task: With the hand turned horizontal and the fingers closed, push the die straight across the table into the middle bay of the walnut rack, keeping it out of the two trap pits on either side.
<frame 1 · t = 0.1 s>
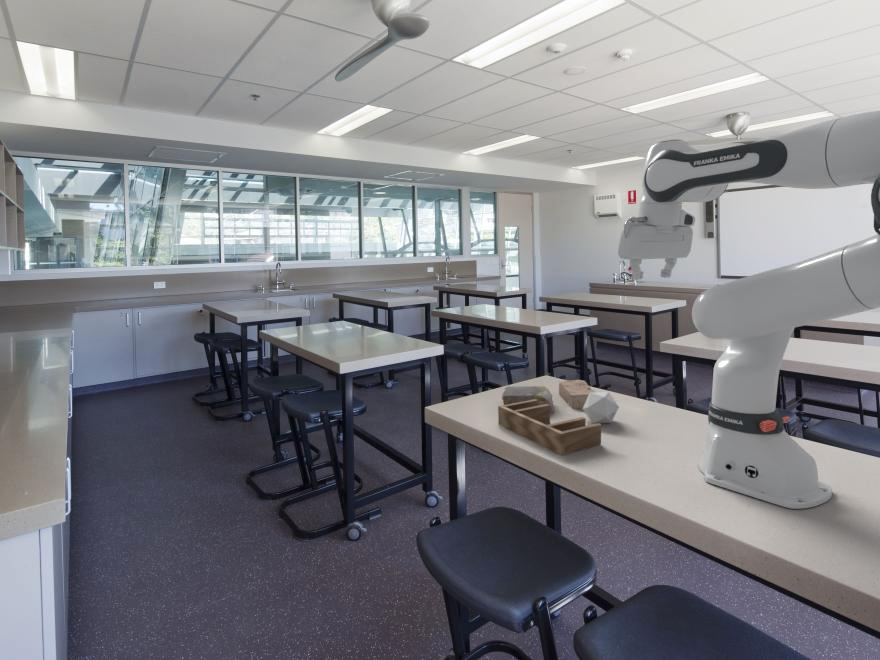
hand: (651, 278, 120), 39 cm above the table, fingers open, 8 cm apart
geological specimen: (527, 408, 153), on the table
brick: (578, 401, 159), on the table
die: (600, 422, 139), on the table
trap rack: (547, 433, 130), on the table
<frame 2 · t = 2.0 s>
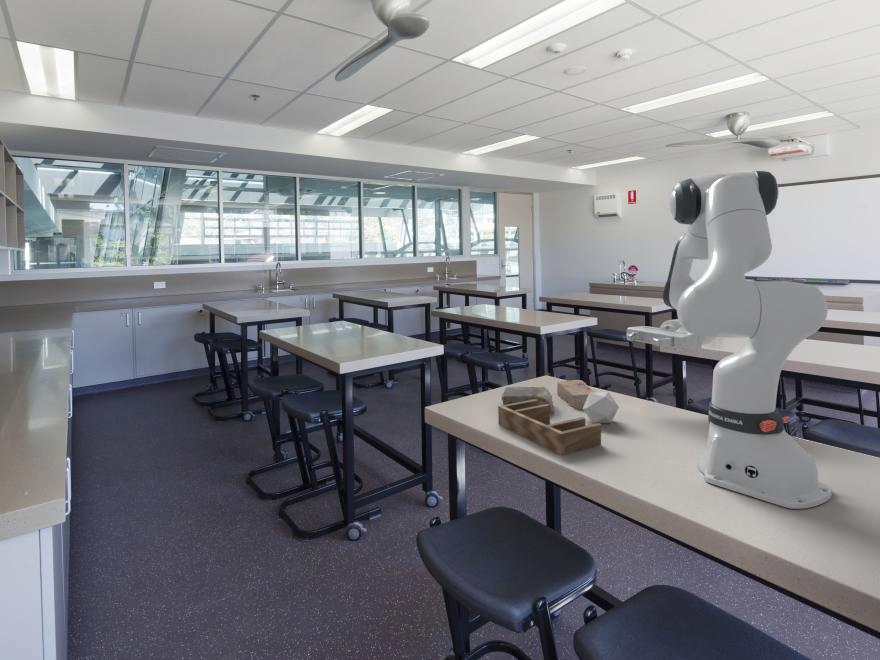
hand: (641, 340, 143), 21 cm above the table, fingers open, 8 cm apart
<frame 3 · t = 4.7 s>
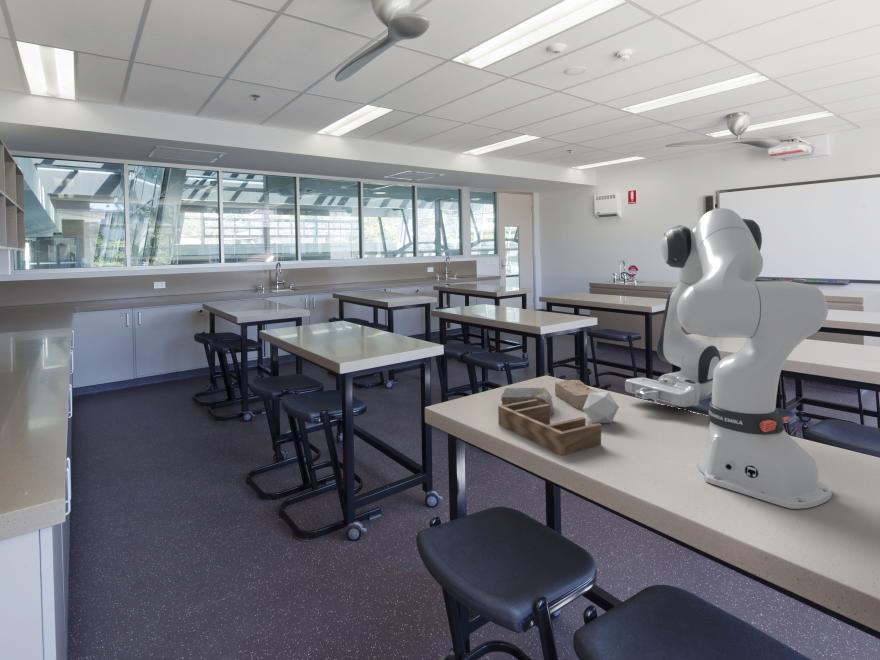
hand: (639, 395, 145), 5 cm above the table, fingers closed
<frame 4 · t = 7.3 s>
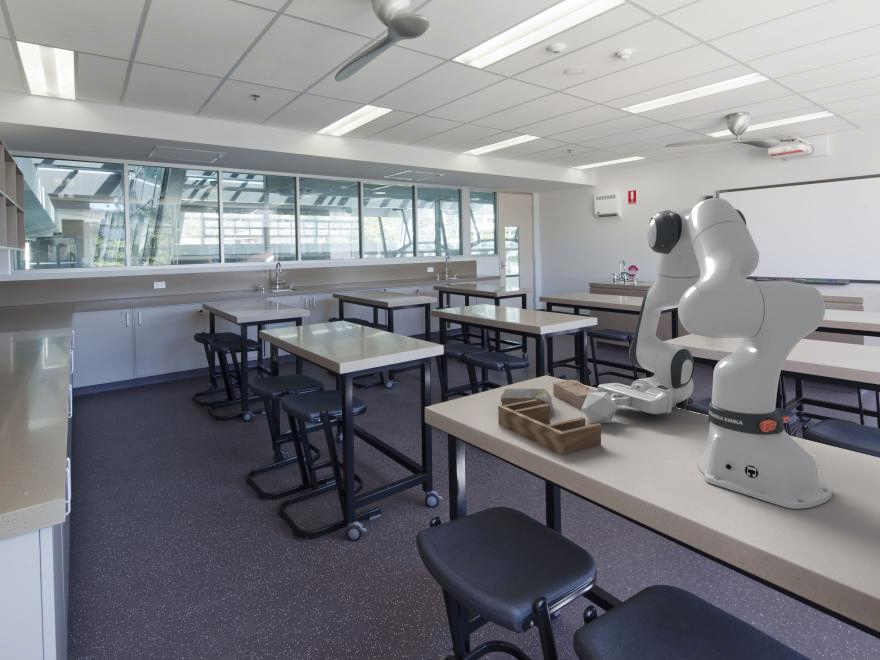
hand: (610, 401, 139), 5 cm above the table, fingers closed
die: (598, 422, 138), on the table, touching gripper
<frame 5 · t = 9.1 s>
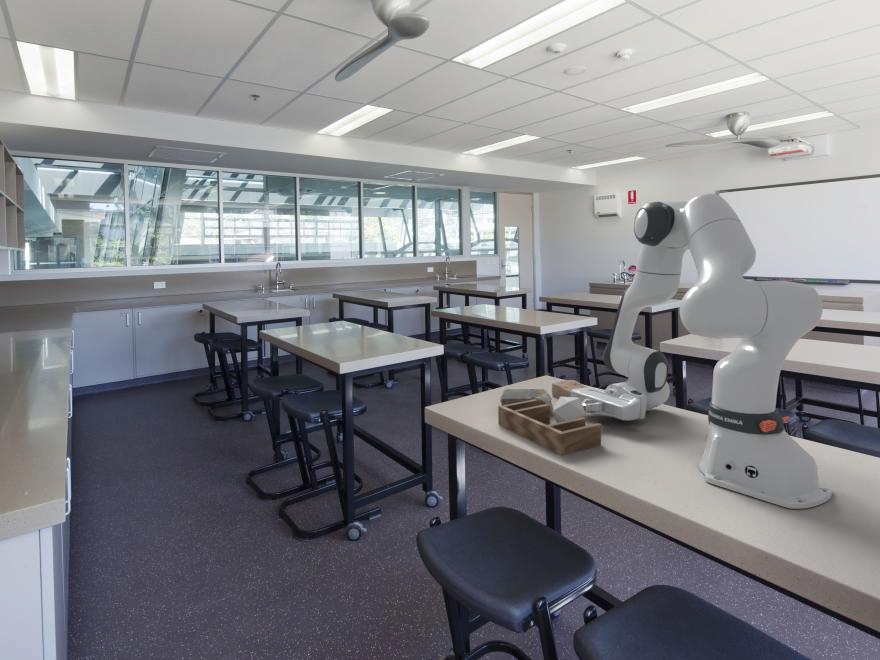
hand: (581, 407, 135), 5 cm above the table, fingers closed, pressing on die
die: (569, 427, 135), on the table, touching gripper
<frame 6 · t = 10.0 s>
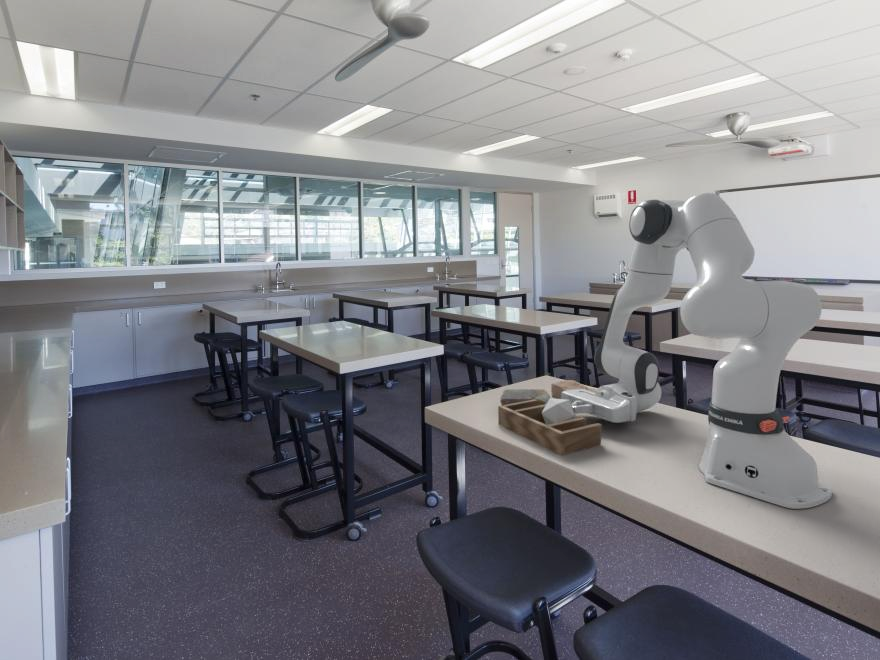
hand: (571, 409, 133), 5 cm above the table, fingers closed, pressing on die
die: (558, 429, 133), on the table, touching gripper
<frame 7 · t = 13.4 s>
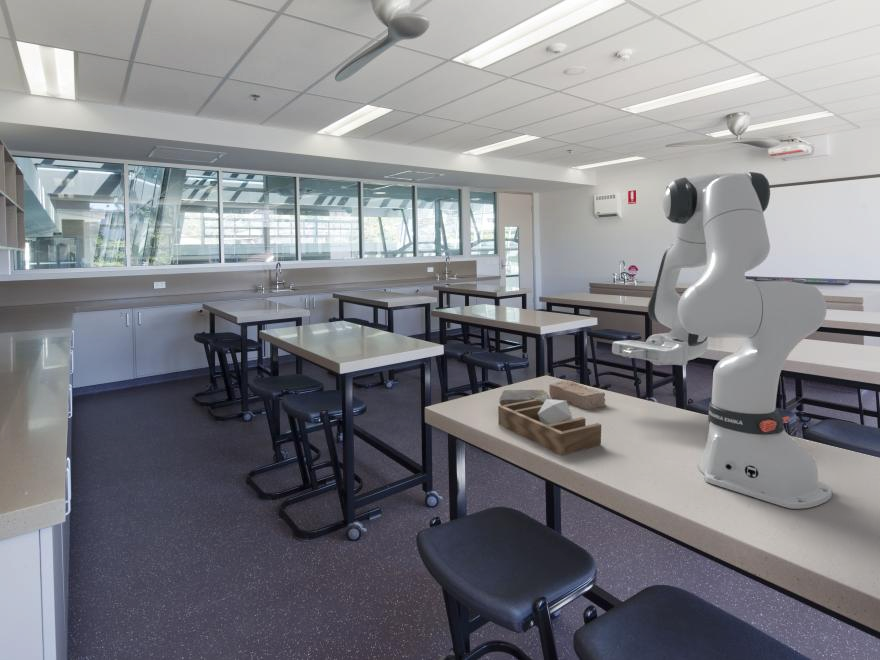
hand: (626, 354, 140), 17 cm above the table, fingers closed
die: (555, 431, 133), on the table
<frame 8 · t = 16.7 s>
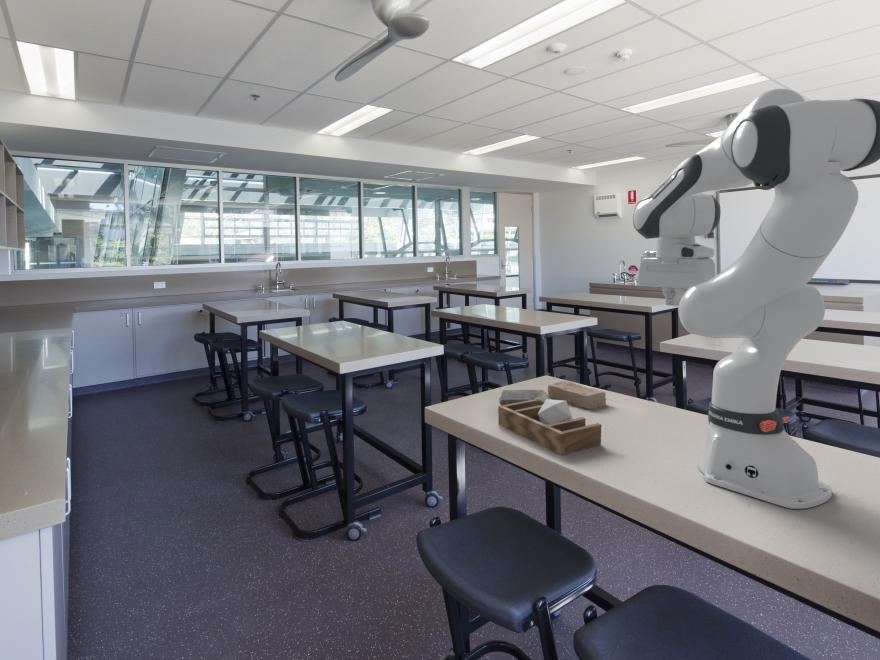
hand: (672, 305, 132), 31 cm above the table, fingers closed
at the end: die inside the target area (2.7 cm from its centre), on the table; die tilted 0° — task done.
